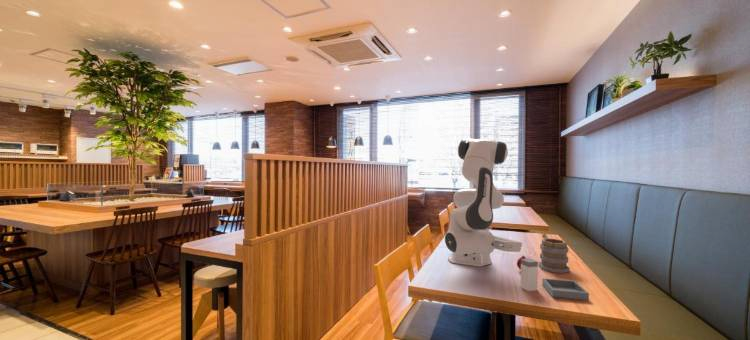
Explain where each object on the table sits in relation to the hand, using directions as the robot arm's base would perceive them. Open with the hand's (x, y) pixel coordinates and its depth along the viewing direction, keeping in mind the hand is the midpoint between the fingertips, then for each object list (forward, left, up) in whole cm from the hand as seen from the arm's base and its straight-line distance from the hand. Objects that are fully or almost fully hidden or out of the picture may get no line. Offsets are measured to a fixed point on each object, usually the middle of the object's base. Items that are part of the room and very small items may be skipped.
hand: (511, 241), depth 124 cm
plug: (+8, +5, -21) cm, 23 cm away
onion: (+11, +26, -21) cm, 36 cm away
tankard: (+27, +38, -21) cm, 52 cm away
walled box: (+21, +4, -21) cm, 30 cm away
